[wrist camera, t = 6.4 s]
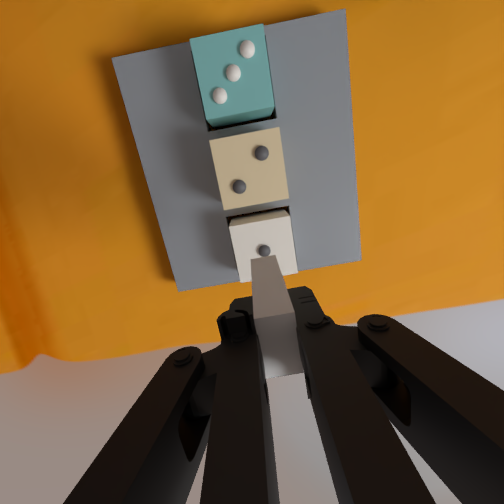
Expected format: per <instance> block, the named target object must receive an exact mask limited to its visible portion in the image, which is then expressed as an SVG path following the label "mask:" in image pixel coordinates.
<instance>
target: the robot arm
mask: <svg viewBox="0 0 504 504" xmlns="http://www.w3.org/2000/svg"><path fill="white" fill-rule="evenodd" d="M250 260H251V278H252V296H249V297H244V298H238V299H234V300H233V302H232V303H231V304H230V308H229V310H228V311H226V312H224V313H222V314H221V315H220V316H219V317H218V319H217V324H218V328H219V332H220V336H221V344H220V345H219V346H218V347H216V348H214V349H212V350H210V351H207V352H205V353H201V350H200V349H199V348H197V347H192V346H190V347H184V348H181V349H178V350H177V351H175V352H173V353H172V354H170V355H169V357H168V358H167V359H166V360H165V361H164V363H163V364H162V366H161V367H160V368H159V370H158V371H157V373H156V374H155V375H154V377H153V378H152V380H151V381H150V382H149V384H148V385H147V387H146V388H145V389H144V391H143V392H142V394H141V395H140V396H139V398H138V399H137V401H136V402H135V403H134V405H133V406H132V408H131V409H130V410H129V412H128V413H127V415H126V416H125V417H124V419H123V420H122V422H121V423H120V424H119V426H118V427H117V429H116V430H115V432H114V433H113V434H112V436H111V437H110V439H109V440H108V441H107V443H106V444H105V445H104V447H103V448H102V450H101V451H100V452H99V454H98V456H97V457H96V458H95V459H94V461H93V462H92V464H91V465H90V467H89V468H88V469H87V471H86V472H85V474H84V475H83V476H82V478H81V479H80V481H79V482H78V484H77V485H76V486H75V488H74V489H73V490H72V492H71V493H70V495H69V496H68V497H67V499H66V500H65V502H64V503H63V504H185V503H186V501H187V498H188V495H189V492H190V490H191V487H192V484H193V481H194V479H195V476H196V473H197V470H198V468H199V465H200V462H201V459H202V457H203V454H204V451H205V448H206V446H207V453H206V460H205V468H204V476H203V483H202V490H201V498H200V504H280V501H279V492H278V482H277V474H276V473H277V472H276V463H275V453H274V444H273V435H272V425H271V415H270V406H269V396H268V388H267V383H266V379H267V378H274V377H279V376H286V375H292V374H298V373H303V372H304V374H305V381H306V387H307V394H308V399H310V400H311V404H312V407H313V411H314V414H315V418H316V422H317V425H318V429H319V433H320V436H321V440H322V444H323V447H324V451H325V454H326V458H327V462H328V465H329V469H330V473H331V476H332V480H333V484H334V487H335V491H336V495H337V498H338V502H339V504H436V503H435V501H434V499H433V497H432V496H431V494H430V492H429V490H428V489H427V487H426V485H425V483H424V481H423V480H422V478H421V476H420V474H419V472H418V471H417V470H416V467H415V465H414V464H413V462H412V460H411V458H410V457H409V455H408V453H407V451H406V449H405V448H404V446H403V444H402V442H401V440H400V439H399V437H398V435H397V433H396V432H395V430H394V428H393V426H392V424H393V425H394V426H395V427H396V428H397V429H398V431H399V432H400V433H401V434H402V435H403V436H404V438H405V439H406V440H407V441H408V442H409V443H410V444H411V446H412V447H413V448H414V449H415V450H416V451H417V453H418V454H419V455H420V456H421V457H422V458H423V459H424V461H425V462H426V463H427V464H428V465H429V466H430V467H431V469H432V470H433V471H434V472H435V473H436V474H437V475H438V476H439V478H440V479H441V480H442V481H443V482H444V484H446V486H447V487H448V488H449V489H450V490H451V492H452V493H453V494H454V495H455V496H456V497H457V498H458V499H459V501H460V502H461V503H462V504H504V391H503V390H501V389H500V388H499V387H497V386H496V385H494V384H493V383H491V382H489V381H488V380H486V379H485V378H483V377H482V376H480V375H479V374H477V373H476V372H474V371H472V370H471V369H470V368H468V367H467V366H465V365H463V364H462V363H460V362H459V361H457V360H456V359H454V358H453V357H451V356H450V355H448V354H447V353H445V352H443V351H442V350H440V349H439V348H437V347H436V346H434V345H433V344H431V343H430V342H428V341H427V340H425V339H424V338H422V337H421V336H419V335H418V334H416V333H414V332H413V331H411V330H410V329H408V328H407V327H405V326H404V325H402V324H401V323H399V322H398V321H396V320H395V319H393V318H390V317H388V316H384V315H379V314H372V315H367V316H364V317H362V318H360V319H359V321H358V322H357V326H358V327H355V326H341V325H337V324H335V323H334V321H333V320H332V319H331V318H330V317H329V316H326V315H325V314H324V312H323V311H322V309H321V307H320V305H319V303H318V301H317V299H316V297H315V296H314V294H313V292H312V290H311V289H309V288H307V287H306V286H302V287H297V288H291V289H287V288H286V285H285V282H284V279H283V276H282V273H281V270H280V267H279V264H278V261H277V258H276V255H271V256H266V257H260V258H254V259H250ZM303 369H304V371H303ZM389 420H390V421H389ZM390 422H391V423H392V424H391V423H390ZM207 443H208V445H207Z"/></svg>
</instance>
